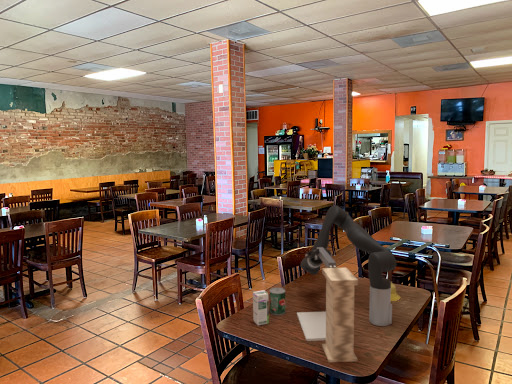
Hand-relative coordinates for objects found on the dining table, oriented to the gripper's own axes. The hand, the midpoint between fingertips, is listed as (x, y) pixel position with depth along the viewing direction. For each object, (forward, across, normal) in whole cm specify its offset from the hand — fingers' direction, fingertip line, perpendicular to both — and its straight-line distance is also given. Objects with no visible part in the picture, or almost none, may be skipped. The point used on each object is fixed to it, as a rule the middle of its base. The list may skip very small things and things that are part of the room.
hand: (322, 250), depth 174 cm
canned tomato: (-26, -20, +24) cm, 41 cm away
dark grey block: (+4, 0, +6) cm, 7 cm away
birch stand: (+9, 0, +43) cm, 44 cm away
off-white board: (-11, -2, +32) cm, 34 cm away
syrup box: (-16, -29, +30) cm, 44 cm away
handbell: (-37, +42, +18) cm, 59 cm away
